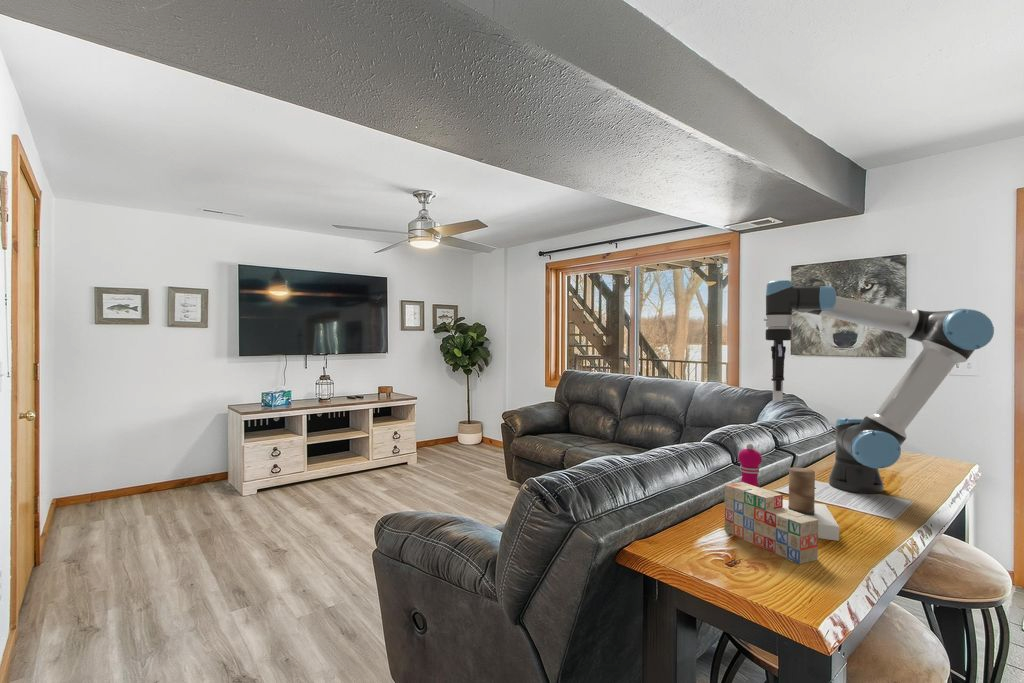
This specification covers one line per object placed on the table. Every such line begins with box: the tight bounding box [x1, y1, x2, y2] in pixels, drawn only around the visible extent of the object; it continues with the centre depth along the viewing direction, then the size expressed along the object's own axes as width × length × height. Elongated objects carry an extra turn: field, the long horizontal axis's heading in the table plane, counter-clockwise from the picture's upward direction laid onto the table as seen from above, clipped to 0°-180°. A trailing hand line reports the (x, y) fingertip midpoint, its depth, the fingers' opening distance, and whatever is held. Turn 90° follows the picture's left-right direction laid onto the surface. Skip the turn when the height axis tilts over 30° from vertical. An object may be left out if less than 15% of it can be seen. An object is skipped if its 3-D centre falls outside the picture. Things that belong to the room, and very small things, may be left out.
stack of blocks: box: [723, 481, 819, 565], centre depth 123 cm, size 21×6×12 cm, turn 24°
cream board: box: [782, 499, 840, 542], centre depth 136 cm, size 14×18×4 cm
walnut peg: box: [788, 466, 816, 515], centre depth 136 cm, size 6×6×14 cm
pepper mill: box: [737, 443, 762, 488], centre depth 143 cm, size 7×7×20 cm
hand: (777, 400), depth 165 cm, fingers closed
